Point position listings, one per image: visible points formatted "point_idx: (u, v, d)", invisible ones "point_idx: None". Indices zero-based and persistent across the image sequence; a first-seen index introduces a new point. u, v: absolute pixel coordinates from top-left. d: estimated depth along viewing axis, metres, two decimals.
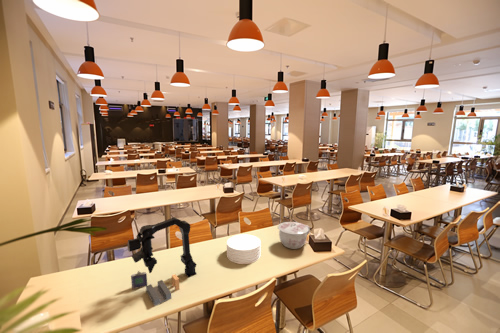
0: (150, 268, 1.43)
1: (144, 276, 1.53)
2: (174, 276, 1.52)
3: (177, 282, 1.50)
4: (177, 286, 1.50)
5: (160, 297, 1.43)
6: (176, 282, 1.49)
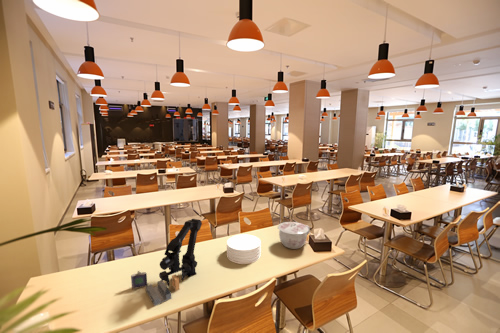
0: (166, 281, 1.48)
1: (144, 276, 1.53)
2: (174, 276, 1.52)
3: (177, 282, 1.50)
4: (177, 286, 1.50)
5: (160, 297, 1.43)
6: (176, 282, 1.49)
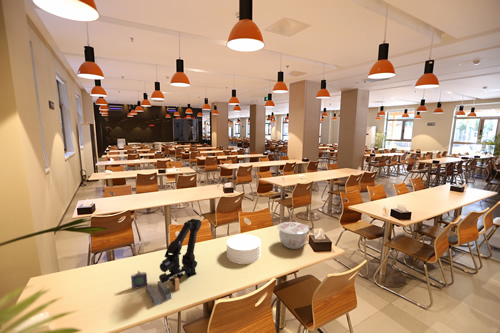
0: (171, 281, 1.51)
1: (144, 276, 1.53)
2: (174, 276, 1.52)
3: (177, 282, 1.50)
4: (177, 286, 1.50)
5: (160, 297, 1.43)
6: (176, 282, 1.49)
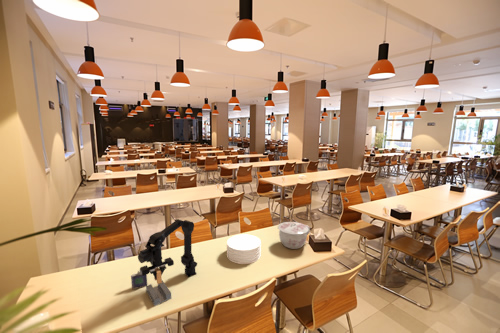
0: (153, 274, 1.42)
1: (144, 276, 1.53)
2: (156, 269, 1.44)
3: (159, 275, 1.42)
4: (159, 279, 1.42)
5: (160, 297, 1.43)
6: (158, 275, 1.41)
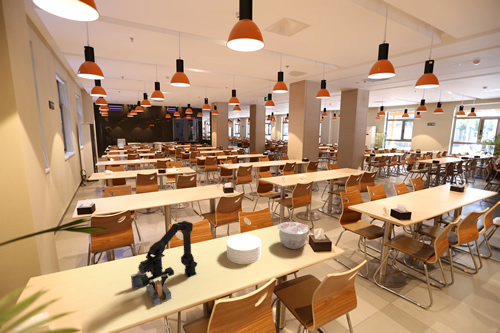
0: (152, 285, 1.43)
1: None
2: (157, 282, 1.45)
3: (160, 288, 1.43)
4: (160, 292, 1.43)
5: (160, 297, 1.43)
6: (159, 288, 1.42)
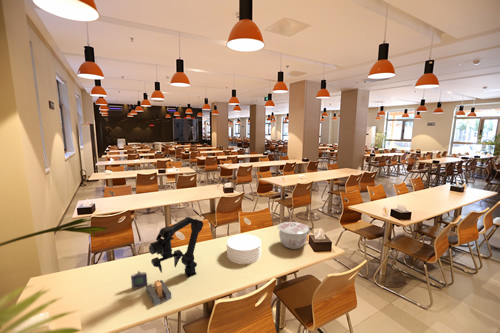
0: (159, 268, 1.49)
1: (144, 276, 1.53)
2: (157, 282, 1.45)
3: (160, 288, 1.43)
4: (160, 292, 1.43)
5: (160, 297, 1.43)
6: (159, 288, 1.42)
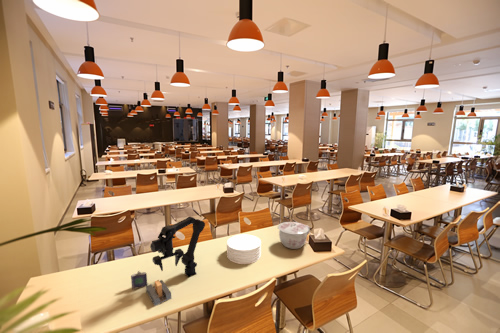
0: None
1: (144, 276, 1.53)
2: (157, 282, 1.45)
3: (160, 288, 1.43)
4: (160, 292, 1.43)
5: (160, 297, 1.43)
6: (159, 288, 1.42)
